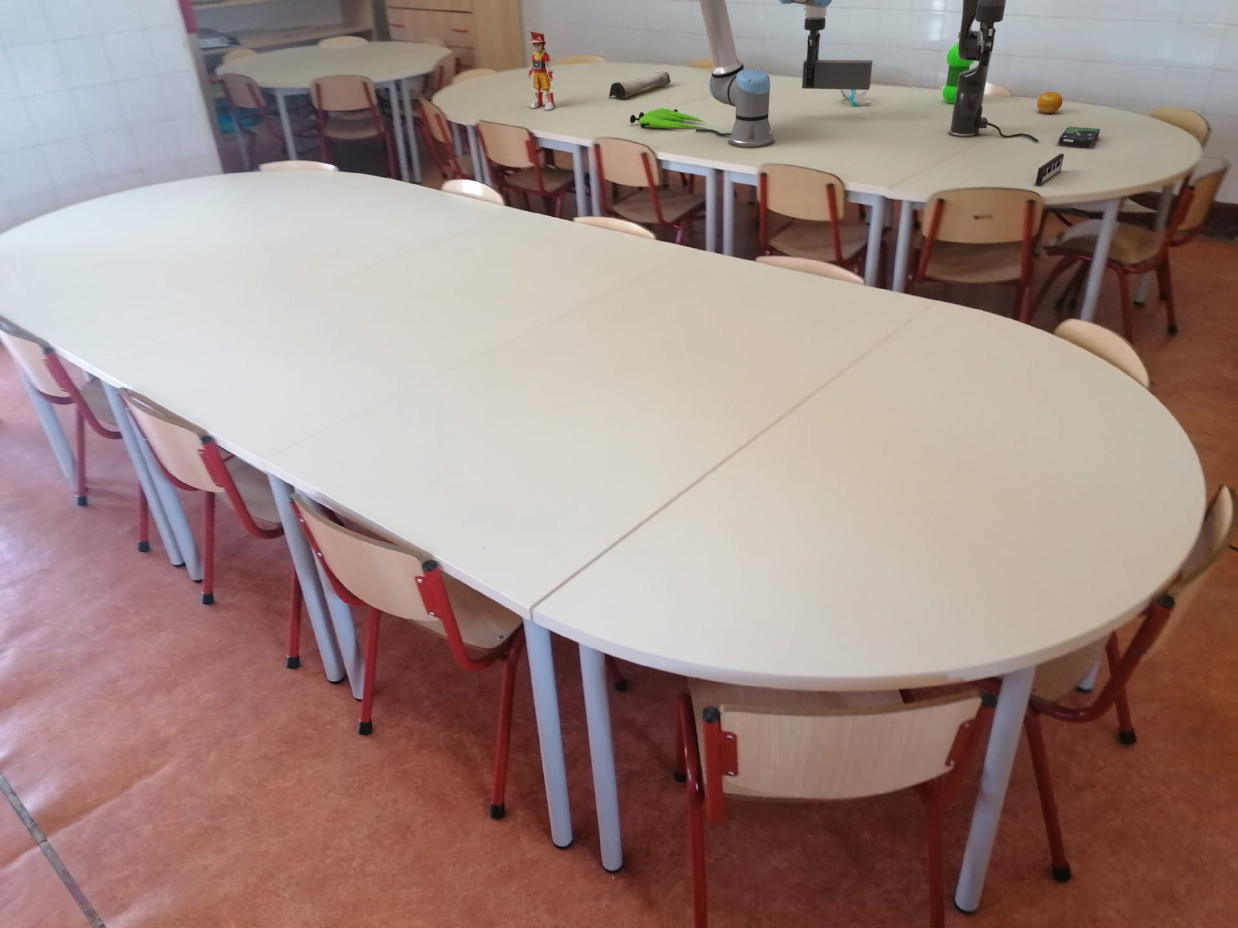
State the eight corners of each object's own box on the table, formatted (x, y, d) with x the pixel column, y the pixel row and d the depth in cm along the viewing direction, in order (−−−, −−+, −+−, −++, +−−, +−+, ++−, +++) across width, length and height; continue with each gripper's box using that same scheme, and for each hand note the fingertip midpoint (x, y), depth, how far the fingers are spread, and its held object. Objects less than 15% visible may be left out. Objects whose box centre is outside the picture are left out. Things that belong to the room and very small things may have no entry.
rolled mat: (651, 76, 408) (662, 61, 399) (662, 93, 408) (674, 79, 400) (605, 92, 391) (616, 77, 383) (617, 110, 391) (628, 95, 383)
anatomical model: (834, 77, 364) (859, 70, 363) (837, 103, 370) (861, 96, 369) (845, 85, 351) (870, 78, 351) (847, 112, 357) (872, 105, 357)
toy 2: (619, 127, 344) (687, 140, 332) (619, 113, 342) (688, 126, 329) (655, 115, 365) (720, 127, 352) (656, 102, 362) (722, 114, 350)
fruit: (1033, 104, 332) (1048, 84, 329) (1031, 108, 340) (1046, 88, 337) (1052, 117, 331) (1068, 97, 327) (1050, 120, 338) (1065, 100, 335)
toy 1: (525, 109, 381) (517, 32, 364) (534, 104, 388) (527, 28, 371) (550, 110, 377) (543, 32, 360) (559, 105, 384) (553, 28, 367)
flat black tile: (1039, 185, 269) (1043, 168, 266) (1035, 184, 270) (1038, 168, 267) (1060, 170, 279) (1064, 154, 277) (1056, 169, 280) (1060, 153, 277)
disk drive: (1091, 148, 296) (1098, 136, 306) (1093, 140, 295) (1100, 128, 305) (1057, 145, 301) (1065, 133, 311) (1059, 137, 299) (1067, 125, 310)
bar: (870, 87, 335) (872, 60, 330) (868, 90, 331) (871, 63, 326) (804, 86, 342) (805, 59, 337) (801, 88, 339) (803, 62, 334)
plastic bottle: (973, 101, 354) (984, 32, 339) (955, 106, 349) (966, 36, 335) (952, 97, 361) (962, 29, 346) (934, 102, 356) (944, 33, 342)
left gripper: (809, 13, 334) (805, 80, 347) (800, 21, 321) (796, 90, 334) (829, 13, 332) (824, 80, 345) (821, 21, 318) (816, 91, 332)
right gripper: (1009, 6, 250) (998, 68, 260) (1002, -2, 262) (991, 58, 271) (980, 7, 252) (971, 69, 261) (974, -1, 263) (965, 59, 272)
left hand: (810, 85), depth 339 cm, fingers closed on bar, 4 cm apart
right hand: (981, 63), depth 266 cm, fingers open, 8 cm apart
